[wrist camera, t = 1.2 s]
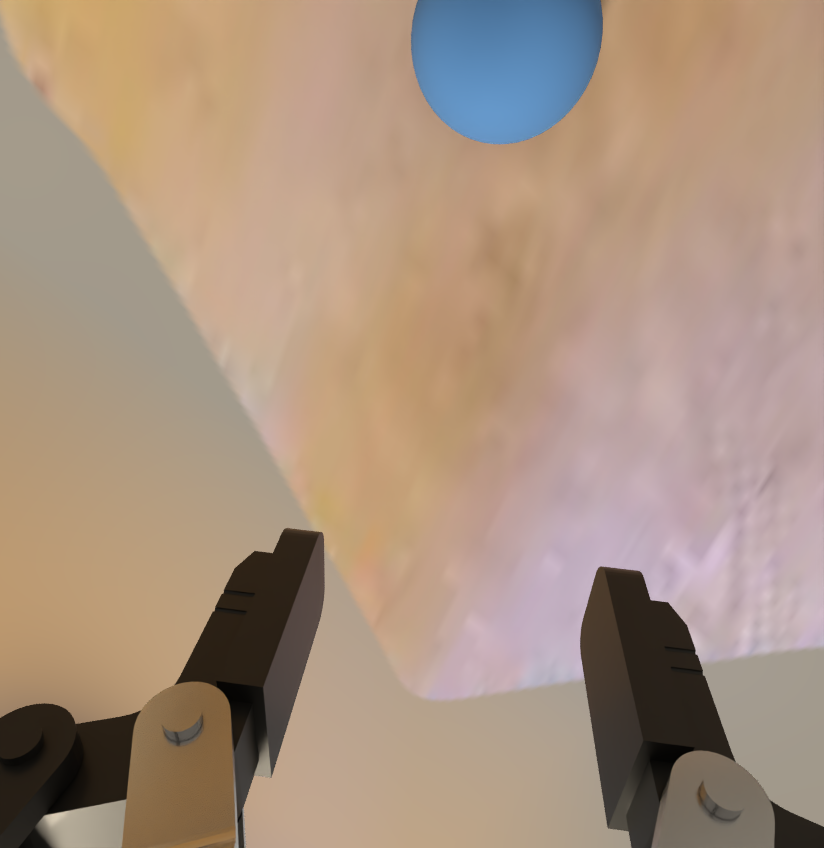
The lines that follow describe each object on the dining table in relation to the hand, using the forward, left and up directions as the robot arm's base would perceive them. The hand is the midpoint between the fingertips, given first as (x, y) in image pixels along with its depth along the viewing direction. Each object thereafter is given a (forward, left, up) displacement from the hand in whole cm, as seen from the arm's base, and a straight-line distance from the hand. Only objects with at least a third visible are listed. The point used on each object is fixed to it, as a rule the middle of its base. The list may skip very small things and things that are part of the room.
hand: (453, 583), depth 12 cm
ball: (-10, 0, -15) cm, 17 cm away
